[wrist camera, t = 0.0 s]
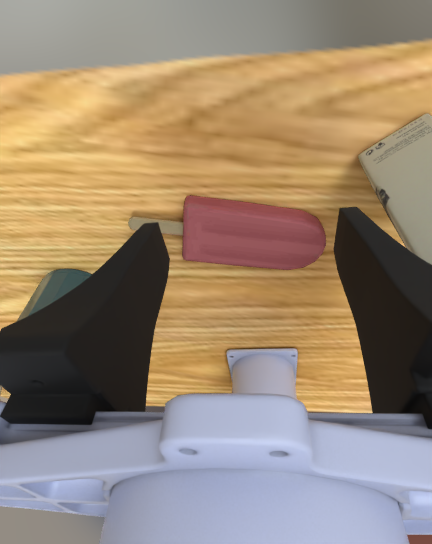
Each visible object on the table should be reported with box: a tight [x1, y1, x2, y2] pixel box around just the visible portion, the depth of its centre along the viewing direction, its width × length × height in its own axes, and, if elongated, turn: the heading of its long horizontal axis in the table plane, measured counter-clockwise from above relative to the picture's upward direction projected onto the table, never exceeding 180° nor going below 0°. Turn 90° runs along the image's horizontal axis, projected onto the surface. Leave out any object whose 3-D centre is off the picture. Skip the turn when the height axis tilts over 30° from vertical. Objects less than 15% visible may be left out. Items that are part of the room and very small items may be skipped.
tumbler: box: [17, 269, 92, 321], centre depth 30 cm, size 7×7×6 cm
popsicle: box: [128, 195, 326, 270], centre depth 25 cm, size 5×2×15 cm
